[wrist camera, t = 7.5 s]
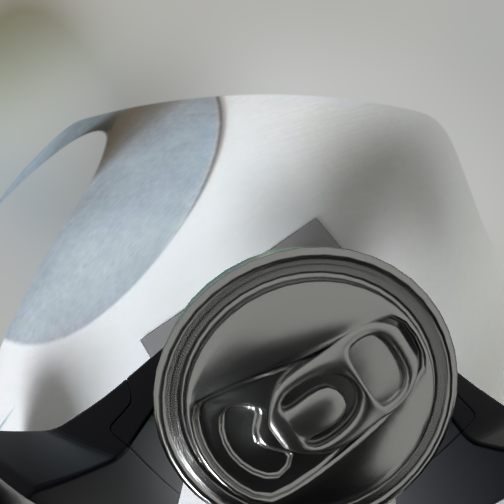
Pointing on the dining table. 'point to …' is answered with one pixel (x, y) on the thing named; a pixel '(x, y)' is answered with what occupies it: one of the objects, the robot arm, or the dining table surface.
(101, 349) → the dining table surface
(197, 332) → the soda can
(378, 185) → the dining table surface
